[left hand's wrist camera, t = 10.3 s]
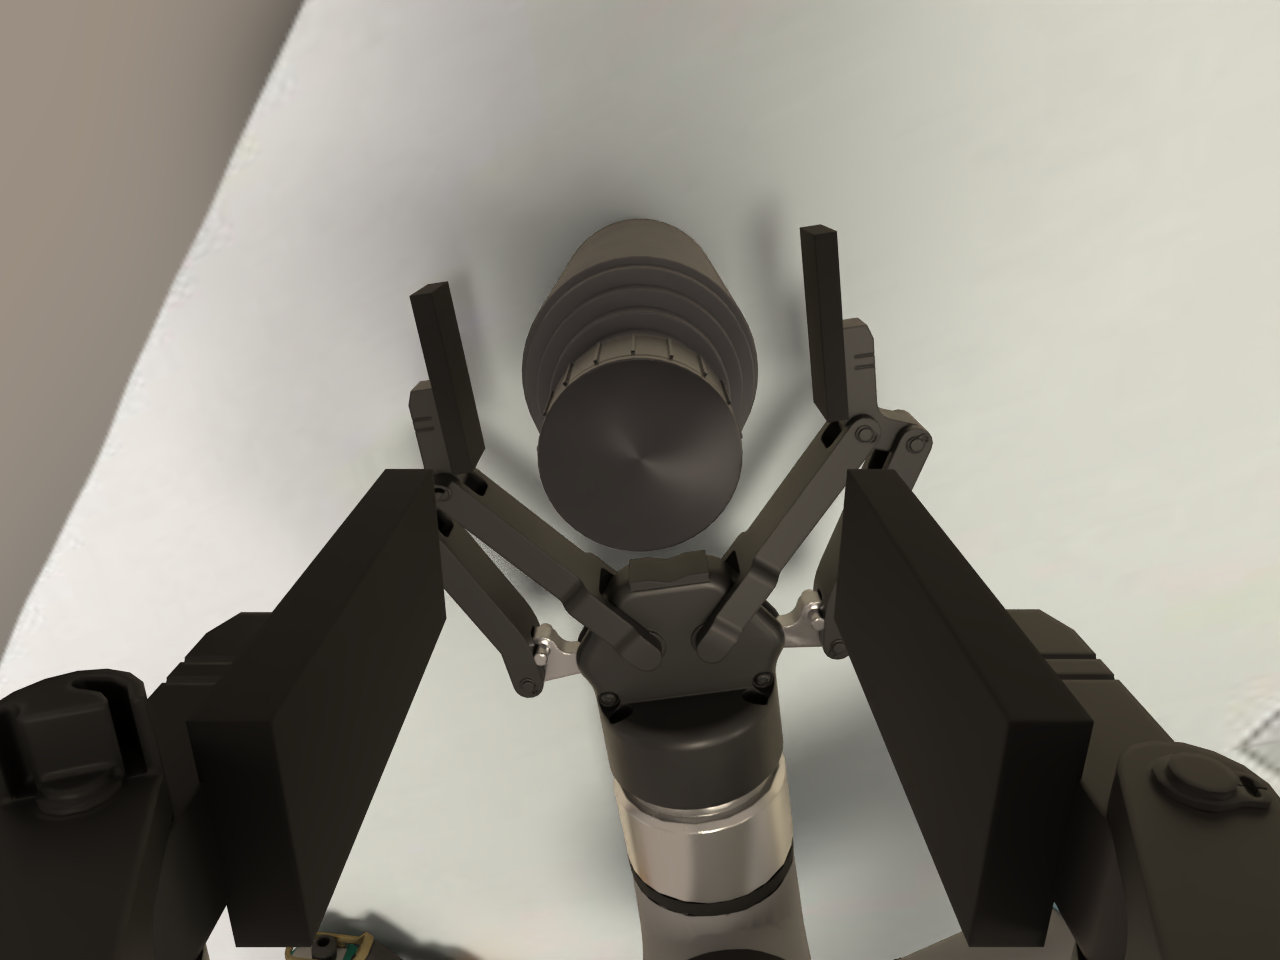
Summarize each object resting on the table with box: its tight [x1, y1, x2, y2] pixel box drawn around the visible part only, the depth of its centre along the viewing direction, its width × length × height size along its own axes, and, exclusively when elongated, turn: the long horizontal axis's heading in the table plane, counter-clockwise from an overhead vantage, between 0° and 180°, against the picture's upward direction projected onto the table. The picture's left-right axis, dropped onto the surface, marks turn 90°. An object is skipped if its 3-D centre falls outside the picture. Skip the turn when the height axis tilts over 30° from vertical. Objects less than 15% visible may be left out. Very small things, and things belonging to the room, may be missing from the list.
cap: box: [537, 334, 742, 551], centre depth 19 cm, size 4×4×2 cm
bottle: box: [522, 219, 758, 433], centre depth 28 cm, size 7×7×20 cm
